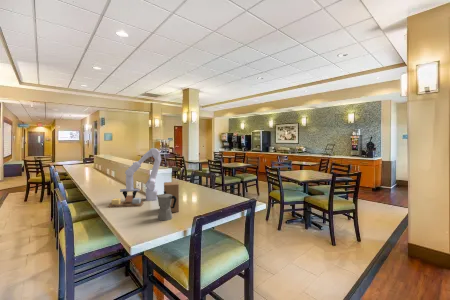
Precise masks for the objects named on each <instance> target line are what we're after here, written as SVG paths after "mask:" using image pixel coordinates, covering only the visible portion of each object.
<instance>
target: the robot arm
mask: <svg viewBox="0 0 450 300" xmlns="http://www.w3.org/2000/svg"><path fill="white" fill-rule="evenodd" d="M151 157H153V159H154V163H153V165H152V169H151V171H150V174H149V177H148V179H147V182H145V188H146V189H145V201H148V202H150V201H158V197H157V196H156V195H159V191H158V189H156V178H157V176H158V172H159V168H160V165H161V162H162V156H161V152H160V150H159V149H158V148H155V147H152V148H151V147H150V149H149V150H147V151H146V152H145V153H144V154H143V155H142V156H141V157H140V159H139V160H138V161H135V162H134V161H133V162H132V164H131V165H130V166H128V168H127V169H126V170H125V172H124V174H125V188H121V189H120V188H119V189H120V190H119V193H122V195H123V197H124V200H125V201H126V196H128V193H129V192H132V195H133V198H136V196H137V193H138V192H140V190H141V189H140V188H135V187H134V183H135V182H134V174H135V173H136V172H137V171H138V170H139V169H140V168H141V167H142V166H141V165H142V164H143V163H144V162H145V161H146V160H147V159H148V158H151Z"/></svg>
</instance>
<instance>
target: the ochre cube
mask: <svg viewBox="0 0 450 300" xmlns="http://www.w3.org/2000/svg"><path fill="white" fill-rule="evenodd" d="M121 202H122V198H120V197H118V198H116V197H115V198H113V199H111V203H112V205H115V204H120V203H121Z"/></svg>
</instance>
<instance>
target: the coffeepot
mask: <svg viewBox="0 0 450 300" xmlns="http://www.w3.org/2000/svg"><path fill="white" fill-rule="evenodd" d="M156 196H157V197H158V199H157V202H158V207H159V210H158V216H157V220H158V221H162V222H165V221H169V220H172V219H173V213H171V208H174V207H175V203H176V200H177V198H176V197H175V196H172V195H171V194H166V191H164V190H163V193H162V194H158V195H156ZM172 199H174V203H173V207H171V208H170V205H171V200H172Z"/></svg>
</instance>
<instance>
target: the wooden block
mask: <svg viewBox="0 0 450 300" xmlns="http://www.w3.org/2000/svg"><path fill="white" fill-rule="evenodd" d="M179 184H180V183H179V182H178V181H168V182H166V181H165V182H164V183H163V192H164V191H166V194H171V195H172V196H175V197H176V198H177V200H176V203H175V207H174V208H171V207H173V203H174V199H172V200H171V205H170V208H171V213H172V214H173V213H179V212H180V205H179V204H180V198H179V196H180V194H179V193H180V187H179V186H180V185H179Z"/></svg>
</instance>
